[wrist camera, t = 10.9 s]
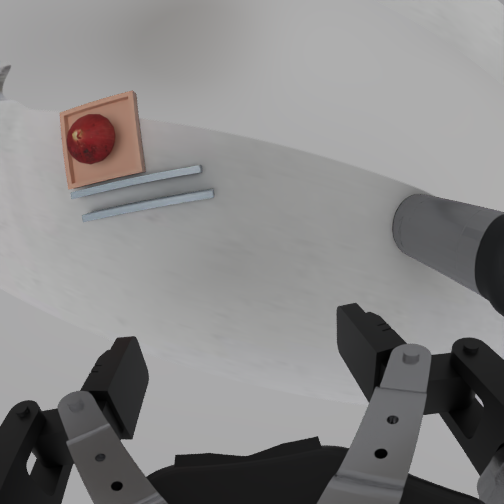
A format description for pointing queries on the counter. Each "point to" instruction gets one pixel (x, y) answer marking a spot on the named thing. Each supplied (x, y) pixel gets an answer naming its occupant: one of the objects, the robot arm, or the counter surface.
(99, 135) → the pomegranate
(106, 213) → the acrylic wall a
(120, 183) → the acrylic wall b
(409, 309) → the counter surface
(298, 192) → the counter surface
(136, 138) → the terracotta dish
